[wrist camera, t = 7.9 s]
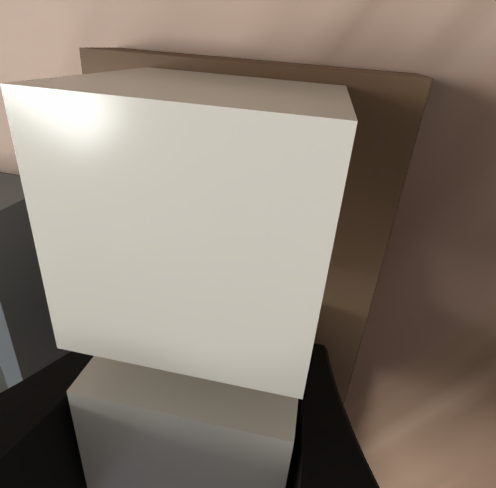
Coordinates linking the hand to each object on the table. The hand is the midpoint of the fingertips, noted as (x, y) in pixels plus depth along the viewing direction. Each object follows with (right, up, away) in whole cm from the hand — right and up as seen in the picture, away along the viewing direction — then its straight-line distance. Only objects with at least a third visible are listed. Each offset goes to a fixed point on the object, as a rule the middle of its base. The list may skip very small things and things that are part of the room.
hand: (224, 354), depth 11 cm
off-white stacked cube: (0, 0, 0) cm, 0 cm away
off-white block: (0, +5, -2) cm, 5 cm away
